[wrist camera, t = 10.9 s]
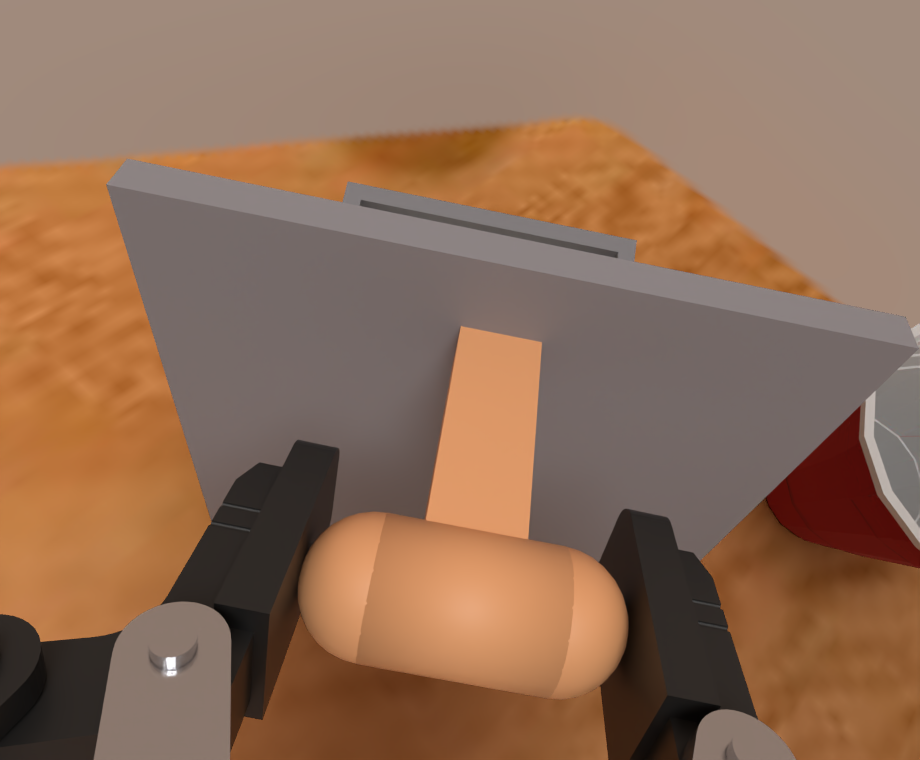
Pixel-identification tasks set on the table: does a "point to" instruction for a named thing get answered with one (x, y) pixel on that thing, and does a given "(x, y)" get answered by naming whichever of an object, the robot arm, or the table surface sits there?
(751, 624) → the table surface
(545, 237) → the carton
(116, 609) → the table surface
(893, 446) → the plastic cup
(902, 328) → the carton lid
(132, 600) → the table surface
